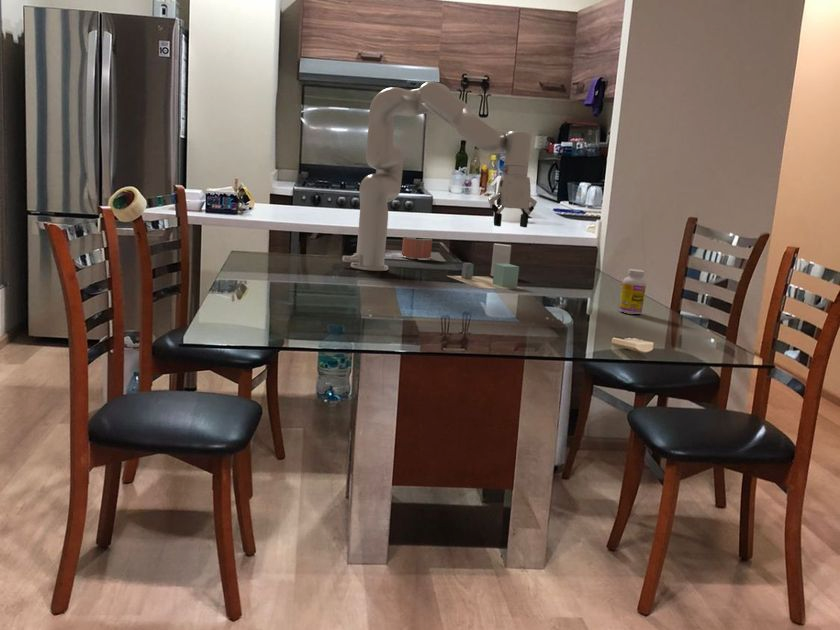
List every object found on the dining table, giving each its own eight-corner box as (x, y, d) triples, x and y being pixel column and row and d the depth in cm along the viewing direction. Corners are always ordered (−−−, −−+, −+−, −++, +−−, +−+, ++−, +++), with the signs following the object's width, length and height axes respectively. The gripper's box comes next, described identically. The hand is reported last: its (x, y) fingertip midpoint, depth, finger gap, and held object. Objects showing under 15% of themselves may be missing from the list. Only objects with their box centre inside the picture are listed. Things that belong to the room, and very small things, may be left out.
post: (465, 279, 286) (466, 264, 285) (461, 277, 288) (462, 262, 287) (472, 279, 287) (473, 264, 286) (468, 278, 289) (469, 262, 288)
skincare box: (507, 279, 304) (511, 245, 302) (507, 281, 300) (511, 246, 297) (490, 277, 304) (493, 243, 302) (489, 279, 300) (493, 244, 298)
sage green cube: (501, 287, 277) (504, 266, 276) (492, 283, 282) (494, 263, 280) (516, 287, 280) (519, 266, 278) (507, 284, 284) (509, 264, 283)
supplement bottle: (628, 315, 255) (635, 271, 253) (613, 310, 261) (619, 268, 258) (646, 315, 258) (652, 272, 256) (631, 310, 264) (637, 268, 262)
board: (480, 292, 271) (480, 288, 271) (445, 279, 290) (445, 275, 290) (523, 292, 278) (523, 288, 278) (486, 280, 297) (487, 276, 297)
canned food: (412, 255, 344) (415, 224, 342) (436, 259, 338) (439, 228, 336) (395, 256, 335) (398, 225, 333) (419, 261, 329) (422, 229, 327)
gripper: (498, 170, 268) (493, 227, 271) (545, 173, 275) (539, 228, 278) (485, 169, 274) (480, 224, 277) (532, 172, 282) (526, 226, 285)
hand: (510, 226), depth 278 cm, fingers open, 9 cm apart
